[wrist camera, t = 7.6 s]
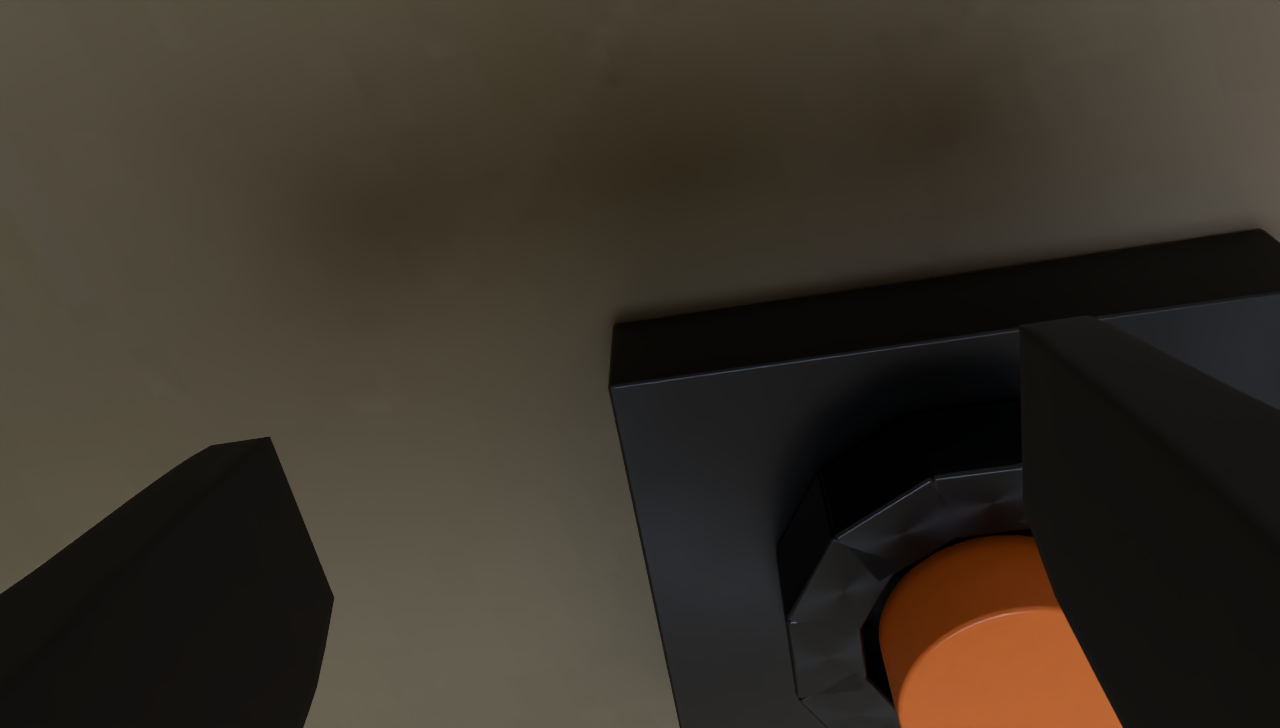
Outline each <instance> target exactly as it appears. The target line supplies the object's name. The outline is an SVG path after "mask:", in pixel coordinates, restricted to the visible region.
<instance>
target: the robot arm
mask: <svg viewBox="0 0 1280 728" xmlns="http://www.w3.org/2000/svg"><path fill="white" fill-rule="evenodd" d="M1019 336H1020V385H1021V434H1022V483H1023V508H1024V511H1025V513H1026V516H1027V519H1028V522H1029V525H1030V528H1031V531H1032V534H1033V537H1034V540H1035V543H1036V546H1037V548H1038V551H1039V554H1040V557H1041V560H1042V563H1043V565H1044V568H1045V571H1046V573H1047V576H1048V579H1049V582H1050V584H1051V587H1052V590H1053V592H1054V595H1055V597H1056V599H1057V601H1058V603H1059V605H1060V607H1061V609H1062V611H1063V613H1064V615H1065V617H1066V619H1067V621H1068V623H1069V625H1070V627H1071V629H1072V631H1073V633H1074V635H1075V637H1076V639H1077V641H1078V643H1079V645H1080V647H1081V648H1082V650H1083V652H1084V654H1085V656H1086V658H1087V660H1088V662H1089V664H1090V666H1091V668H1092V670H1093V672H1094V674H1095V676H1096V677H1097V679H1098V681H1099V683H1100V685H1101V687H1102V689H1103V691H1104V693H1105V695H1106V697H1107V699H1108V700H1109V702H1110V704H1111V706H1112V708H1113V710H1114V712H1115V714H1116V716H1117V718H1118V720H1119V721H1120V723H1121V725H1122V727H1123V728H1280V410H1279V409H1276V408H1274V407H1272V406H1270V405H1268V404H1266V403H1264V402H1262V401H1260V400H1258V399H1256V398H1253V397H1251V396H1249V395H1247V394H1245V393H1243V392H1241V391H1239V390H1237V389H1235V388H1233V387H1231V386H1229V385H1227V384H1225V383H1223V382H1221V381H1219V380H1217V379H1215V378H1213V377H1211V376H1209V375H1207V374H1205V373H1203V372H1202V371H1200V370H1198V369H1196V368H1194V367H1192V366H1190V365H1188V364H1186V363H1184V362H1182V361H1180V360H1178V359H1176V358H1174V357H1173V356H1171V355H1169V354H1167V353H1165V352H1163V351H1161V350H1159V349H1157V348H1155V347H1153V346H1151V345H1149V344H1148V343H1146V342H1144V341H1142V340H1140V339H1138V338H1136V337H1134V336H1132V335H1130V334H1128V333H1126V332H1124V331H1122V330H1120V329H1118V328H1116V327H1114V326H1112V325H1110V324H1108V323H1105V322H1103V321H1101V320H1099V319H1096V318H1094V317H1091V316H1089V315H1085V316H1078V317H1071V318H1065V319H1058V320H1051V321H1044V322H1038V323H1031V324H1024V325H1019ZM333 601H334V596H333V594H332V591H331V589H330V586H329V584H328V581H327V579H326V576H325V574H324V571H323V569H322V566H321V564H320V561H319V558H318V556H317V553H316V551H315V548H314V546H313V543H312V541H311V538H310V536H309V533H308V531H307V528H306V526H305V523H304V521H303V518H302V516H301V513H300V511H299V508H298V506H297V503H296V501H295V498H294V496H293V493H292V491H291V488H290V486H289V483H288V481H287V478H286V476H285V473H284V471H283V468H282V466H281V463H280V461H279V458H278V456H277V453H276V451H275V448H274V446H273V443H272V441H271V438H270V437H264V438H258V439H251V440H244V441H238V442H231V443H224V444H217V445H211V446H209V447H208V448H206V449H204V450H202V451H200V452H199V453H197V454H195V455H193V456H192V457H190V458H189V459H187V460H185V461H184V462H182V463H181V464H179V465H178V466H176V467H175V468H173V469H172V470H170V471H169V472H167V473H166V474H165V475H163V476H162V477H160V478H159V479H158V480H156V481H155V482H153V483H152V484H151V485H149V486H148V487H146V488H145V489H144V490H142V491H141V492H140V493H138V494H137V495H135V496H134V497H133V498H131V499H130V500H129V501H127V502H126V503H125V504H123V505H122V506H121V507H119V508H118V509H117V510H115V511H114V512H113V513H111V514H110V515H108V516H107V517H106V518H104V519H103V520H102V521H100V522H99V523H98V524H96V525H95V526H94V527H92V528H91V529H90V530H88V531H87V532H86V533H84V534H83V535H82V536H80V537H79V538H78V539H76V540H75V541H74V542H72V543H71V544H69V545H68V546H67V547H65V548H64V549H63V550H61V551H60V552H59V553H57V554H56V555H55V556H53V557H52V558H51V559H49V560H48V561H47V562H45V563H44V564H43V565H41V566H40V567H38V568H37V569H36V570H34V571H33V572H32V573H30V574H29V575H27V576H26V577H24V578H23V579H22V580H20V581H19V582H17V583H16V584H14V585H13V586H12V587H10V588H9V589H7V590H6V591H4V592H3V593H2V594H0V728H303V726H304V724H305V721H306V718H307V715H308V712H309V709H310V706H311V703H312V700H313V697H314V694H315V691H316V688H317V683H318V679H319V674H320V670H321V665H322V660H323V656H324V651H325V647H326V641H327V635H328V630H329V624H330V618H331V613H332V607H333Z"/></svg>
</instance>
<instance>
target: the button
mask: <svg viewBox="0 0 1280 728" xmlns="http://www.w3.org/2000/svg"><path fill="white" fill-rule="evenodd" d="M879 643H880V649H881V653H882V657H883V661H884V665H885V669H886V673H887V677H888V681H889V685H890V689H891V693H892V697H893V701H894V705H895V709H896V713H897V717H898V721H899V725H900V727H901V728H1123V727H1122V725H1121V723H1120V721H1119V720H1118V718H1117V716H1116V714H1115V712H1114V710H1113V708H1112V706H1111V704H1110V702H1109V700H1108V699H1107V697H1106V695H1105V693H1104V691H1103V689H1102V687H1101V685H1100V683H1099V681H1098V679H1097V677H1096V676H1095V674H1094V672H1093V670H1092V668H1091V666H1090V664H1089V662H1088V660H1087V658H1086V656H1085V654H1084V652H1083V650H1082V648H1081V647H1080V645H1079V643H1078V641H1077V639H1076V637H1075V635H1074V633H1073V631H1072V629H1071V627H1070V625H1069V623H1068V621H1067V619H1066V617H1065V615H1064V613H1063V611H1062V609H1061V607H1060V605H1059V603H1058V601H1057V599H1056V597H1055V595H1054V592H1053V590H1052V587H1051V584H1050V582H1049V579H1048V576H1047V573H1046V571H1045V568H1044V565H1043V563H1042V560H1041V557H1040V554H1039V551H1038V548H1037V546H1036V543H1035V540H1034V537H1031V536H1024V535H1008V534H1002V535H988V536H983V537H977V538H972V539H968V540H965V541H961V542H958V543H955V544H953V545H950V546H948V547H945V548H943V549H941V550H939V551H937V552H935V553H933V554H931V555H930V556H928V557H927V558H925V559H924V560H922V561H921V562H919V563H918V564H917V565H915V566H914V567H913V568H912V569H911V570H909V571H908V572H907V573H906V574H905V575H904V576H903V578H902V579H901V580H900V581H899V582H898V583H897V585H896V586H895V587H894V589H893V590H892V592H891V593H890V595H889V597H888V599H887V601H886V603H885V605H884V608H883V611H882V614H881V617H880V623H879Z"/></svg>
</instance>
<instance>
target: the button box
mask: <svg viewBox="0 0 1280 728" xmlns="http://www.w3.org/2000/svg"><path fill="white" fill-rule="evenodd" d="M1085 315H1089V316H1091V317H1094V318H1096V319H1099V320H1101V321H1103V322H1105V323H1108V324H1110V325H1112V326H1114V327H1116V328H1118V329H1120V330H1122V331H1124V332H1126V333H1128V334H1130V335H1132V336H1134V337H1136V338H1138V339H1140V340H1142V341H1144V342H1146V343H1148V344H1149V345H1151V346H1153V347H1155V348H1157V349H1159V350H1161V351H1163V352H1165V353H1167V354H1169V355H1171V356H1173V357H1174V358H1176V359H1178V360H1180V361H1182V362H1184V363H1186V364H1188V365H1190V366H1192V367H1194V368H1196V369H1198V370H1200V371H1202V372H1203V373H1205V374H1207V375H1209V376H1211V377H1213V378H1215V379H1217V380H1219V381H1221V382H1223V383H1225V384H1227V385H1229V386H1231V387H1233V388H1235V389H1237V390H1239V391H1241V392H1243V393H1245V394H1247V395H1249V396H1251V397H1253V398H1256V399H1258V400H1260V401H1262V402H1264V403H1266V404H1268V405H1270V406H1272V407H1274V408H1276V409H1279V410H1280V242H1278V241H1277V240H1276V239H1275V238H1273V237H1272V236H1271V235H1270V234H1268V233H1267V232H1266V231H1264V230H1259V231H1252V232H1245V233H1238V234H1231V235H1224V236H1217V237H1211V238H1204V239H1197V240H1190V241H1183V242H1176V243H1169V244H1163V245H1156V246H1149V247H1142V248H1135V249H1128V250H1121V251H1115V252H1108V253H1101V254H1094V255H1087V256H1080V257H1073V258H1067V259H1060V260H1053V261H1046V262H1039V263H1032V264H1025V265H1019V266H1012V267H1005V268H998V269H991V270H984V271H977V272H971V273H964V274H957V275H950V276H943V277H936V278H929V279H923V280H916V281H909V282H902V283H895V284H888V285H881V286H875V287H868V288H861V289H854V290H847V291H840V292H833V293H827V294H820V295H813V296H806V297H799V298H792V299H785V300H779V301H772V302H765V303H758V304H751V305H744V306H737V307H731V308H724V309H717V310H710V311H703V312H696V313H689V314H683V315H676V316H669V317H662V318H655V319H648V320H641V321H634V322H628V323H621V324H615V325H613V330H612V343H611V357H610V370H609V384H608V389H609V394H610V398H611V403H612V408H613V413H614V417H615V422H616V427H617V432H618V436H619V441H620V446H621V451H622V455H623V460H624V465H625V470H626V474H627V479H628V484H629V489H630V493H631V498H632V503H633V508H634V512H635V517H636V522H637V527H638V531H639V536H640V541H641V546H642V550H643V555H644V560H645V565H646V569H647V574H648V579H649V584H650V588H651V593H652V598H653V603H654V607H655V612H656V617H657V622H658V626H659V631H660V636H661V641H662V645H663V650H664V655H665V660H666V664H667V669H668V674H669V678H670V683H671V688H672V693H673V697H674V702H675V707H676V712H677V716H678V721H679V726H680V728H901V727H900V725H899V721H898V717H897V713H896V709H895V705H894V701H893V697H892V693H891V689H890V685H889V681H888V677H887V673H886V669H885V665H884V661H883V657H882V653H881V649H880V643H879V623H880V617H881V614H882V611H883V608H884V605H885V603H886V601H887V599H888V597H889V595H890V593H891V592H892V590H893V589H894V587H895V586H896V585H897V583H898V582H899V581H900V580H901V579H902V578H903V576H904V575H905V574H906V573H907V572H908V571H909V570H911V569H912V568H913V567H914V566H915V565H917V564H918V563H919V562H921V561H922V560H924V559H925V558H927V557H928V556H930V555H931V554H933V553H935V552H937V551H939V550H941V549H943V548H945V547H948V546H950V545H953V544H955V543H958V542H961V541H965V540H968V539H972V538H977V537H983V536H988V535H1002V534H1008V535H1024V536H1031V537H1033V534H1032V531H1031V528H1030V525H1029V522H1028V519H1027V516H1026V513H1025V511H1024V508H1023V483H1022V434H1021V385H1020V336H1019V325H1024V324H1031V323H1038V322H1044V321H1051V320H1058V319H1065V318H1071V317H1078V316H1085Z"/></svg>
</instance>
